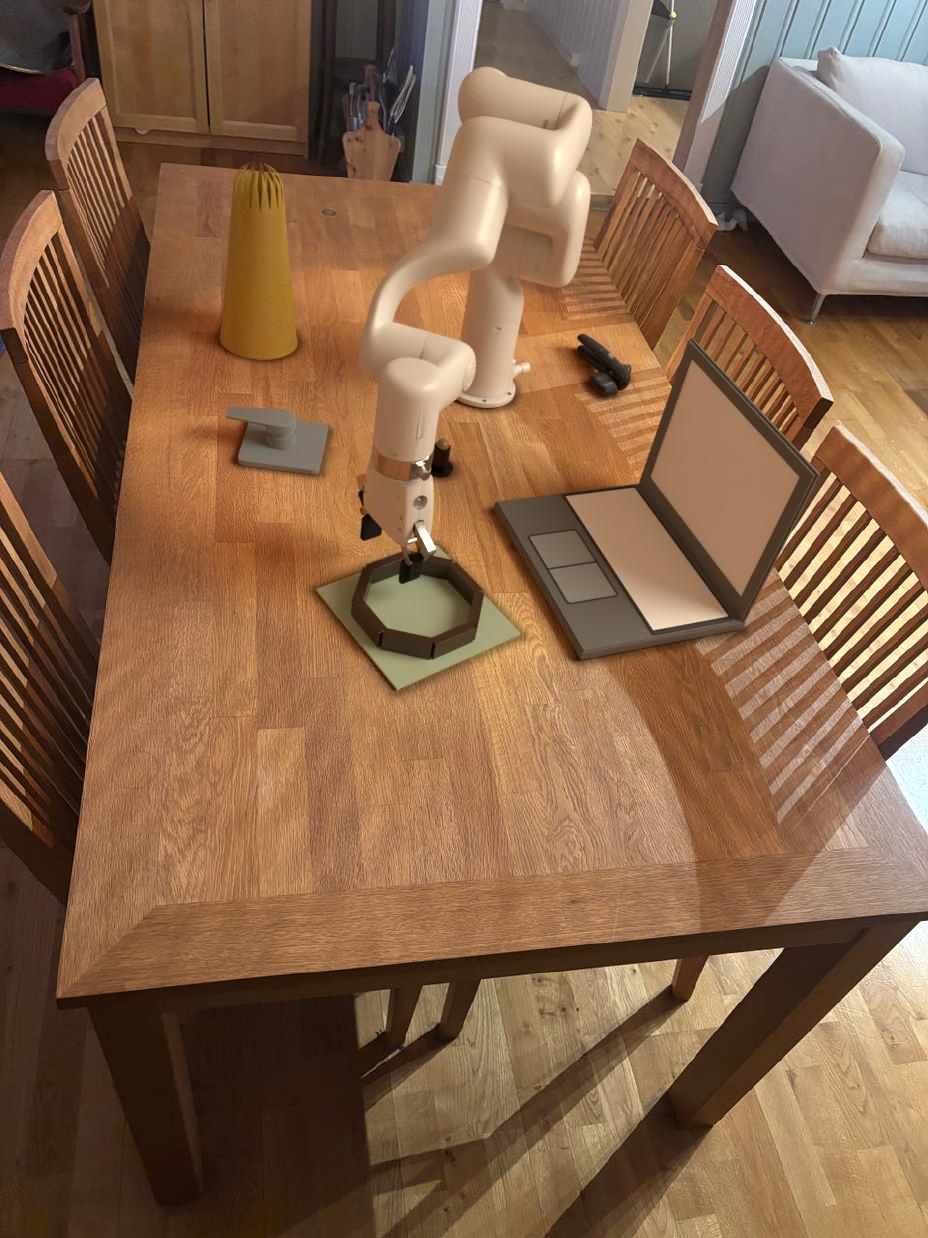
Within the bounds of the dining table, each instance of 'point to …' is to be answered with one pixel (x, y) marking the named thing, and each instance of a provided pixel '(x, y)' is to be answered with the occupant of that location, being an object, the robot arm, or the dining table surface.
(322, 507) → the dining table surface
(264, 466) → the shower valve
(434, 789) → the dining table surface
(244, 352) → the piping tip
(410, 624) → the sage mat
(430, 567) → the hanging ring
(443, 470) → the post
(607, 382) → the can opener
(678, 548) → the laptop
